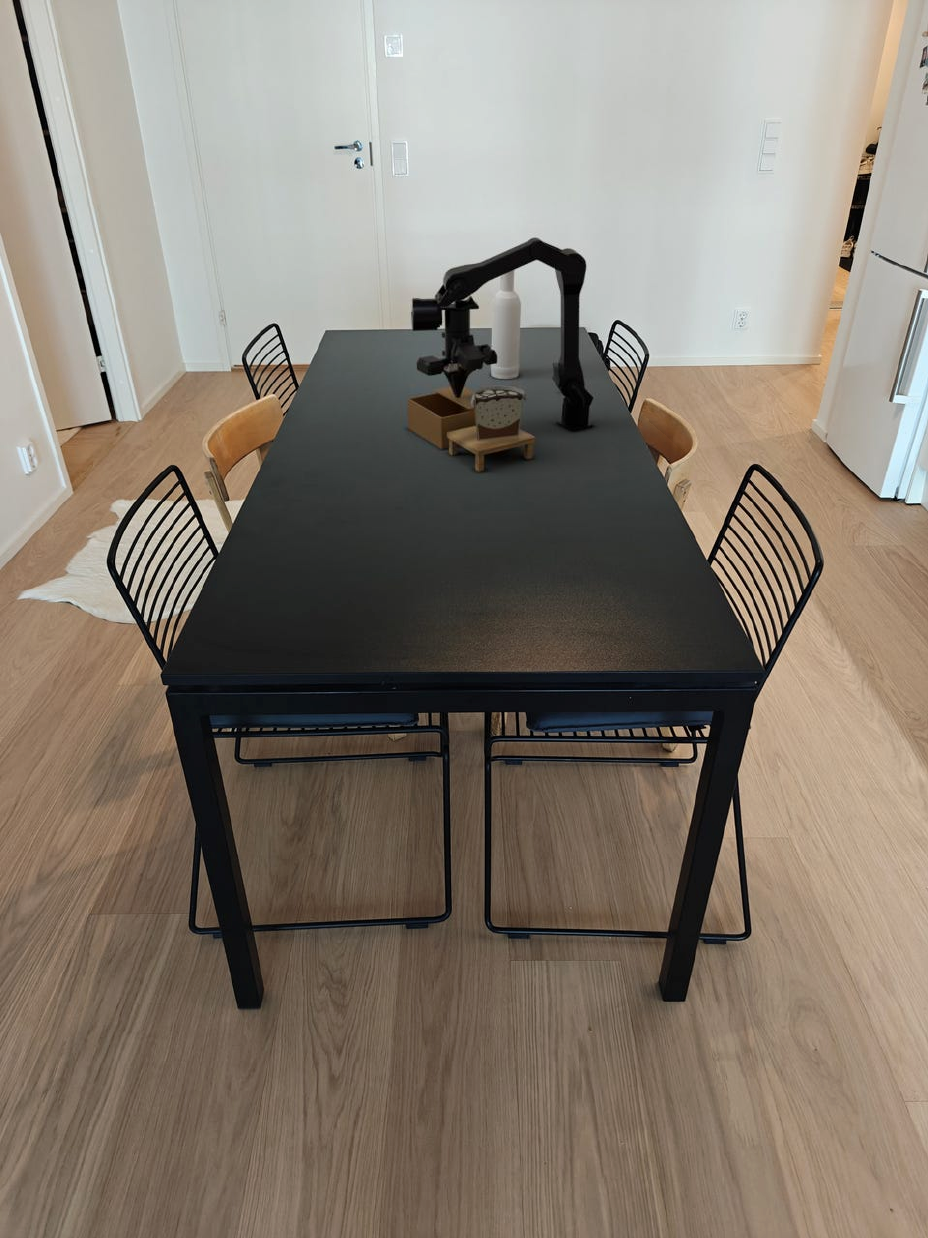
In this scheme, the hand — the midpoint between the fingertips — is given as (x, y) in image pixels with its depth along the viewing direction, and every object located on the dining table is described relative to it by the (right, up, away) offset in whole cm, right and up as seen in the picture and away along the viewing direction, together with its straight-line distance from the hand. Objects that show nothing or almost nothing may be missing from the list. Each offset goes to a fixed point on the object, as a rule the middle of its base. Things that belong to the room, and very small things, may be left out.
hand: (457, 397), depth 197 cm
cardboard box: (-2, -8, +4) cm, 9 cm away
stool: (+7, -15, -8) cm, 19 cm away
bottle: (+13, +17, +41) cm, 46 cm away
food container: (+8, -11, -11) cm, 17 cm away
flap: (+2, 0, +1) cm, 2 cm away
